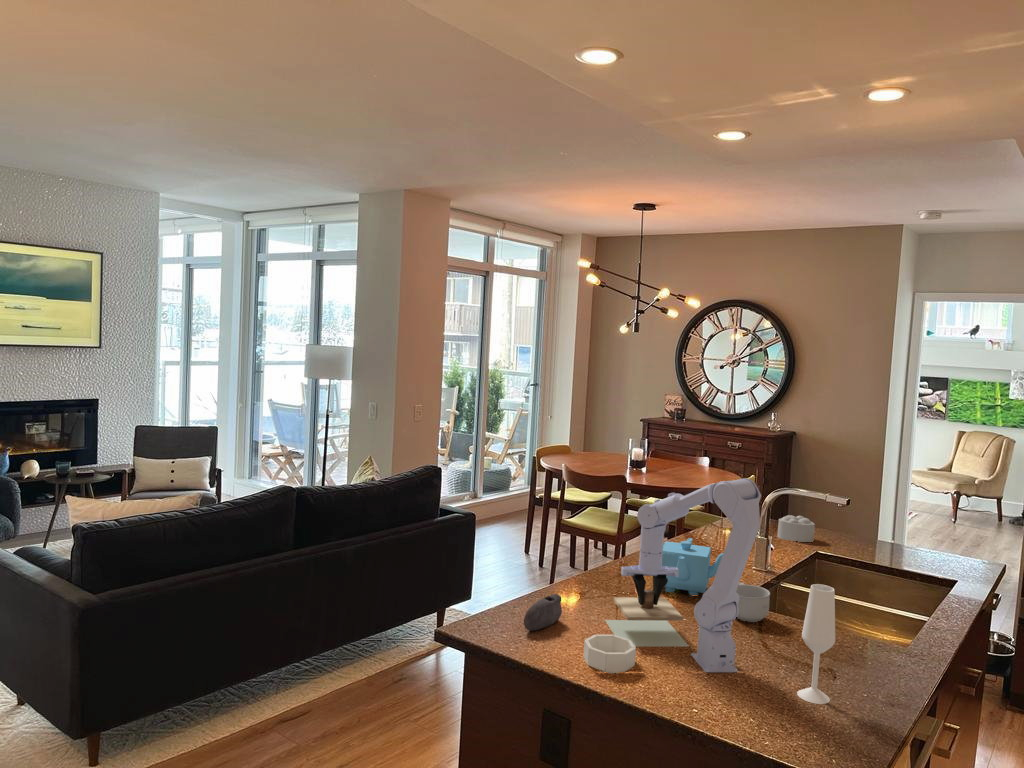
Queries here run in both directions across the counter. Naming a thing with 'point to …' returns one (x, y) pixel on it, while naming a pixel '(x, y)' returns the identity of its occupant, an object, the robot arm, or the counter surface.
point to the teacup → (752, 602)
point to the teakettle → (689, 566)
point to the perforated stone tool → (543, 613)
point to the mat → (647, 633)
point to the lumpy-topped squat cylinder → (796, 529)
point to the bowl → (609, 653)
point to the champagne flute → (818, 635)
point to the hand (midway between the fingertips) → (647, 603)
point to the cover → (647, 608)
